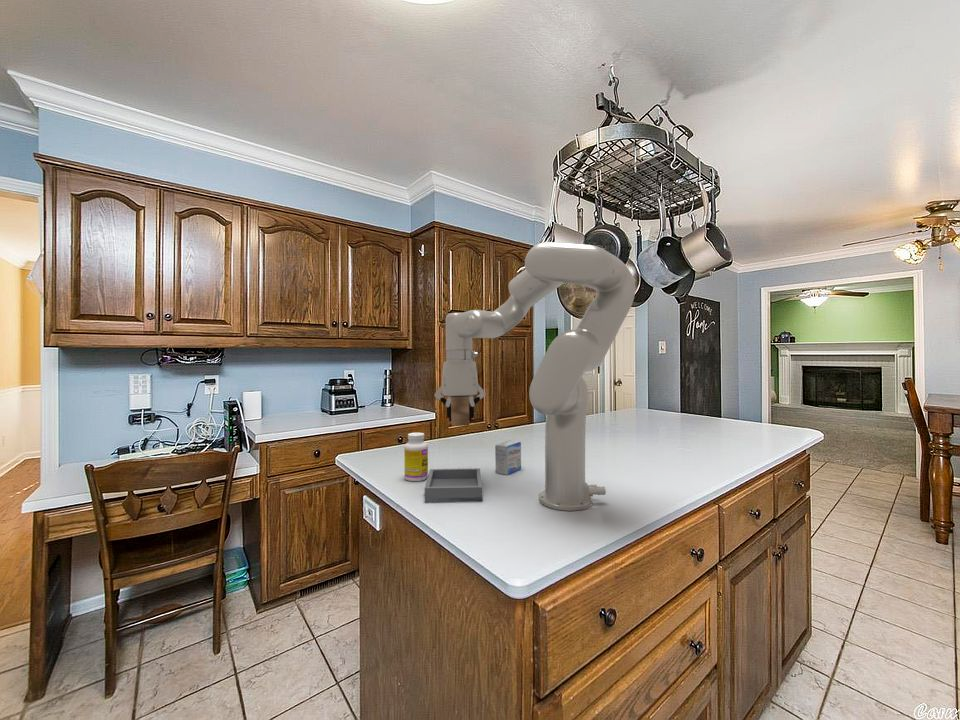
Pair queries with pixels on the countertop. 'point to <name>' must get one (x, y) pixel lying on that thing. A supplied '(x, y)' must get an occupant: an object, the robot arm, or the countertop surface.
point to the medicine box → (508, 457)
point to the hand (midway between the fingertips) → (460, 419)
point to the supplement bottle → (416, 458)
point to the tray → (453, 485)
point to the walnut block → (460, 411)
